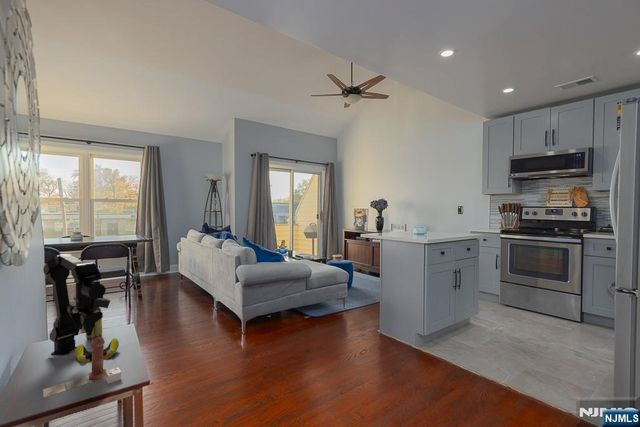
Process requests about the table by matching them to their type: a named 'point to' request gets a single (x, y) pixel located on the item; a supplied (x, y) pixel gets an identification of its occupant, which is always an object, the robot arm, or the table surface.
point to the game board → (69, 385)
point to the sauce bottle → (96, 329)
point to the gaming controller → (86, 356)
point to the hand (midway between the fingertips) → (84, 332)
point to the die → (113, 375)
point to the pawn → (97, 359)
